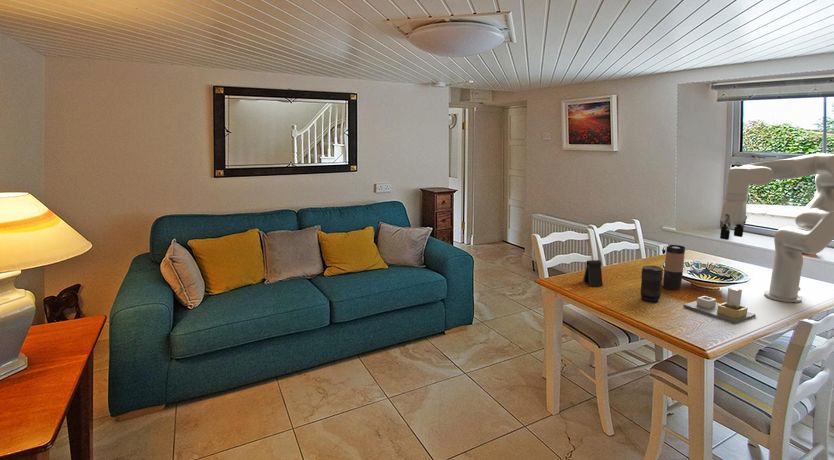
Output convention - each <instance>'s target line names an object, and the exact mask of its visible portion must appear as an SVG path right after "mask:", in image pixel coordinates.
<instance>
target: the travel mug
mask: <svg viewBox="0 0 834 460" xmlns="http://www.w3.org/2000/svg"><path fill="white" fill-rule="evenodd" d="M685 253H686V247H685V246H683V245H678V244H669V245H668V246H666V251H665V260H664V269H663V284H662V287H663V288H664V289H666V290H675V291H678V290H681V287H682V281H683V273H684V264H685Z"/></svg>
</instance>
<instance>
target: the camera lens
mask: <svg viewBox="0 0 834 460" xmlns="http://www.w3.org/2000/svg"><path fill="white" fill-rule="evenodd" d="M640 276H641V285H640V297H641V300H642V302H645V303H648V304H649V303H650V304H656V303H659V301H660V298H661V294H662V287H663V284H662V281H663V278H664V269H663V268H662V267H660V266H657V265H643V266H642V269H641V275H640Z"/></svg>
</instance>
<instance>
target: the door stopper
mask: <svg viewBox="0 0 834 460" xmlns="http://www.w3.org/2000/svg"><path fill="white" fill-rule="evenodd" d="M583 281H584V282H585V285H587V284H588V285H589V286H588V285H587V286H588V287H590V288H595V287H596V288H597V287H599V286H603V284H604V283H603V275H602V260H600V259H595V260H594V259H593V260H586V266H585V271H584V275H583V279H582V282H583ZM584 282H583V283H584ZM599 288H600V287H599Z"/></svg>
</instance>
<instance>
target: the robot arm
mask: <svg viewBox="0 0 834 460" xmlns="http://www.w3.org/2000/svg"><path fill="white" fill-rule="evenodd" d="M813 175H814V176H815V178H814V183H815V195H814V197H813V198H812V200H810V202H808V204H807V205H806V206H805V207H804V208H802V210H801V211H800V212H799V213H798V214H797V216H796V217H795V220H794V222H795V225H797V227H796V226H783V227H780V228H779V229H778V230H777V231H776V232H775V233H774V237H773V239H774V240H773V241H774V258H773V265H772V270H771V271H772V272H771V277H770V284H769V290H766V291H765V292H764V294H763V295H764V296H765V297H766V298H768V299H771V300H774V301H778V302H782V303H783V302H784V303H792V302H795V303H800V302H802V300H803V298H802V297H801V296H800V295H798V294H799V291H801V287H800V282H801V278H802V277H801V275H802V269H803V265H804V257H803V254H806V255H807V254H808V255H816V254H819V253H821V252H822V251H823V250H824V249H825V248H826V247H828V245H829V244H830V243H831V242H832V241H834V153H811V154H804V155H801V156H795V157H791V158H785V159H776V160H775V159H774V160H769V161H761V162H754V163H749V164H744V165H741V166H739V167H738V166H737V167H736V166H733V167H730V168H729V169H728V173H727V179H726V189H725V196H724V202H723V205H722V208H721V213H720V218H719V224H720V225H719V227H720V235H719V238H720V240H726V241H727V240H728V241H729V239H730V234H731V233H730V232H731V230H730V229H731V227H732V226H734V230H733V236H734V237H739V238H742V237H743V235H744V228H745V225H746V222H747V218H748V216H747V202H748V199H749V191H750V186H751V185H756V186H766V185H769V184H770V183H772V182H773V180H784V181H785V180H793V179H799V178H803V177H810V176H813Z"/></svg>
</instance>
